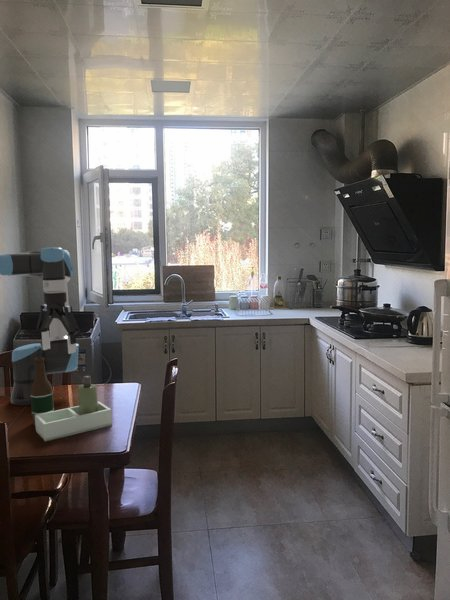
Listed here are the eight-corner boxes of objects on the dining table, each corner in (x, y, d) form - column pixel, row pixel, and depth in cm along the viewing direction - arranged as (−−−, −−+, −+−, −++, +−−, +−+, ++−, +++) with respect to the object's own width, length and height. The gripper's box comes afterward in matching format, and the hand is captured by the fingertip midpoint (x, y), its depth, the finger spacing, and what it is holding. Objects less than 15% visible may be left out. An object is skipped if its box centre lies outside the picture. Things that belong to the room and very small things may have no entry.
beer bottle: (47, 427, 175) (42, 360, 172) (28, 426, 176) (22, 360, 174) (59, 419, 182) (54, 355, 180) (40, 418, 184) (35, 355, 181)
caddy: (35, 431, 171) (34, 414, 170) (100, 416, 184) (99, 401, 183) (45, 441, 161) (43, 424, 160) (112, 425, 174) (111, 409, 173)
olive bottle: (77, 422, 176) (74, 376, 175) (95, 418, 180) (92, 373, 178) (83, 427, 171) (80, 380, 169) (101, 422, 175) (98, 376, 173)
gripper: (23, 291, 177) (27, 349, 179) (70, 294, 163) (74, 357, 166) (40, 289, 183) (45, 345, 185) (87, 291, 169) (91, 352, 172)
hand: (59, 351), depth 176 cm, fingers open, 13 cm apart
